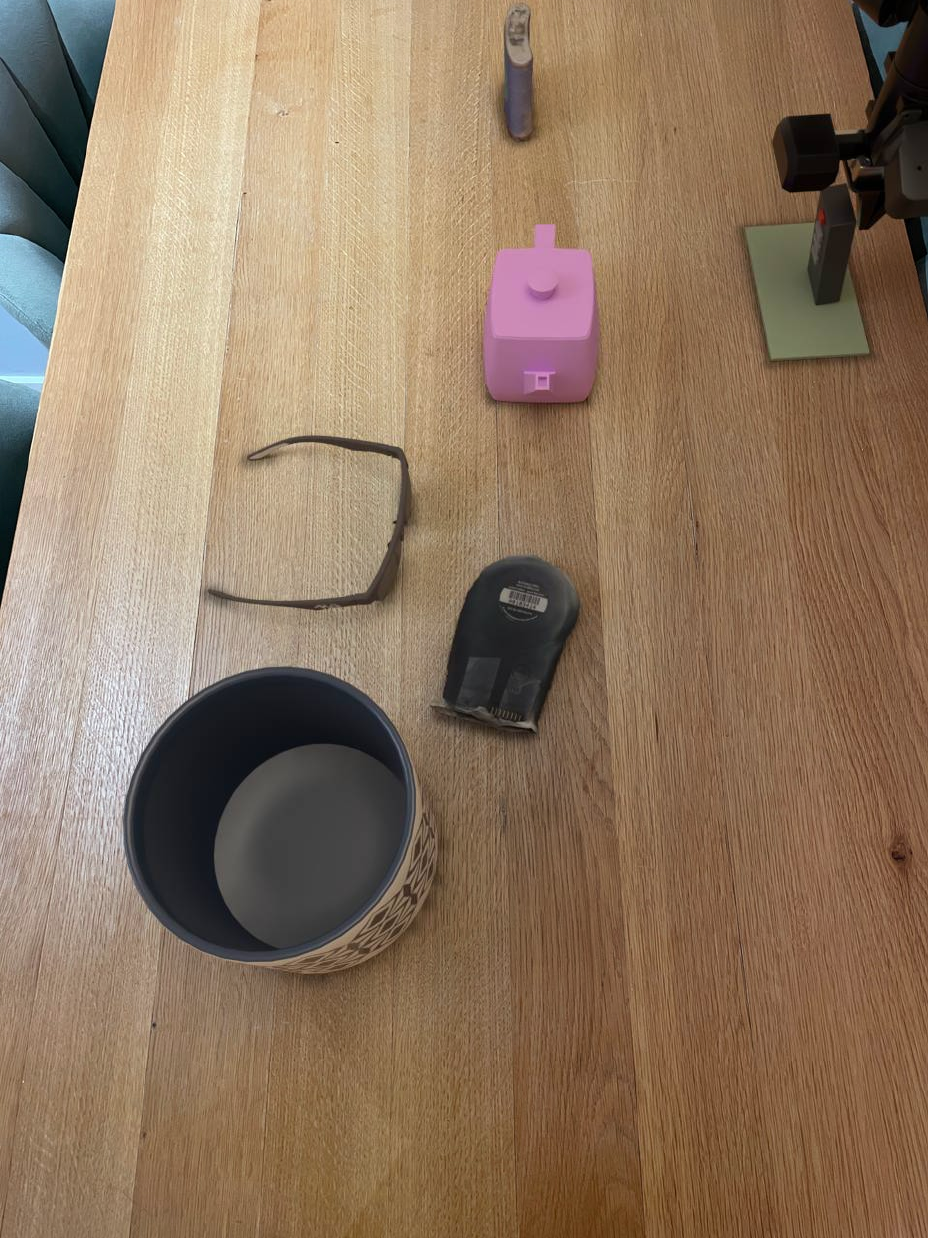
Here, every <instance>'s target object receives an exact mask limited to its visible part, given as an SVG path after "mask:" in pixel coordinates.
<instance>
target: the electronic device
mask: <svg viewBox="0 0 928 1238" xmlns="http://www.w3.org/2000/svg"><path fill="white" fill-rule="evenodd" d="M580 602H581V599H580V597H579V593H578V589H577V588H576V586H575V584H574V582H573V580H572V578H571V576H570V575H569V574H568V573H567V571H566V570H565V569H562V568H559V567H557V566H555V565H553V564H551V563H549V562H547V561H546V560H544V559H543V558H541V557H539V555H535V554H508V555H506V556H505V557H503V558H500V559H498V560H496V561H494V562H491V563H490V564H488V565H487V566H486V567H484V568H483V569H482V570H481V571H480V573H479V575H478V577H477V578H476V579H475V580H474V582H473V583H472V586H471V587H470V588H469V589H468V591H467V592H466V595H465V598H464V602H463V604H462V606H461V610H460V613H459V615H458V619H457V622H456V626H455V630H454V634H453V638H452V642H451V647H450V651H449V656H448V661H447V665H446V671H447V674H446V679H445V683H444V686H443V691H442V697H440V699H439V701H431V703H429V704H428V706H429V707H430V708H432V709H433V710H434V711H435V710H436V712H438V713H439V714H443V715H446V716H450V717H454V718H459V719H462V720H466V721H470V722H474V723H477V724H481V725H485V726H487V727H492V728H494V729H497V730H502V731H506V732H511V733H519V732H520V733H521V732H526V733H529V734H531V735H533V734H534V735H535V736H536V737H538V736H537V735H538V731H539V721H540V719H541V715H542V712H543V708H544V705H545V704H546V700H547V697H548V694H549V692H550V691H551V689H552V683H553V680H554V677H555V674H556V671H557V668H558V665H559V663H560V659H561V657H562V654H563V651H564V648H565V645H566V642H567V638H569V636H570V635H571V633H572V631H573V630H575V628H576V625H577V621H578V619H579V616H580V615H579V613H580V608H581V603H580Z"/></svg>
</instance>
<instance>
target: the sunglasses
mask: <svg viewBox="0 0 928 1238" xmlns="http://www.w3.org/2000/svg"><path fill="white" fill-rule="evenodd" d="M301 443H314V444H315V443H316V444H325V445H331V446H334V447H339V448H341V449H346V450H349V451H353V452H363V453H364V452H365V453H375V454H378V455H379V454H381V455H384V456H387V457H391V458H392V459H396V460H398V461H399V462H400V471H401V474H400V475H401V476H400V477H401V479H400V480H401V482H400V483H401V484H400V485H401V486H400V496H399V501H398V502H399V503H398V510H397V513H396V520H393V521H392V524H394V525H395V526H394V528H393V532H392V534H391V535H392V536H391V538H390V541H389V542H387V546H386V547H387V551H386V553H385V555H384V557H383V559H382V561H381V564H380V566H379V569H378V570H377V572H376V574H375V576H374V577H373V580H372V581H371V583H370V585H369V587H368V588H367V589H366V591H365V592H360V593H354V594H349V595H343V596H337V597H336V596H335V597H329V598H327V597H326V598H319V599H297V600H269V599H254V598H247V597H242V596H238V595H233V594H229V593H225V592H223V591H219V590H216V589H213V588H208V589H207V593H208V594H210V595H212V596H215V597H217V598H220V599H223V600H228V601H231V602H236V603H237V602H238V603H244V604H249V605H250V604H251V605H260V606H269V607H281V608H282V607H283V608H293V609H300V610H310V611H326V610H331V609H339V608H346V607H354V606H370V605H372V604H373V603H374V602H380V603H382V602H383V601H385V599H386V598H387V596H388V595H389V593H390V591H391V589H392V587H393V585H394V583H395V580H396V578H397V575H398V572H399V569H400V564H401V559H402V552H403V551H402V550H403V542H404V538H405V534H404V527H408V525H409V521H410V517H411V513H412V512H411V511H412V498H413V497H412V495H413V492H412V490H413V489H412V483H411V477H410V476H411V475H410V472H409V470H410V467H409V462H408V460H407V456H406V454H405V451H404V450H403V448H402V447H400V446H396V445H390V444H388V443H387V444H386V443H381V442H376V441H369V440H363V439H356V438H349V437H342V436H332V435H316V434H315V435H311V434H309V435H298V436H291V437H288V438H284V439H281V440H278V441H276V442H274V443H270V444H269V445H266V446H265V447H262V448H260V449H258V450H256V451H254V452H251V453H249V454H247V456H246V458H247V460H251V461H252V460H259V459H263V458H264V457H266V456H268V455H270V454H271V453H273V452H275V451H277V450H279V449H281V448H284V447H286V446H290V445H294V444H301Z"/></svg>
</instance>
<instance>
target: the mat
mask: <svg viewBox="0 0 928 1238" xmlns="http://www.w3.org/2000/svg"><path fill="white" fill-rule="evenodd" d="M814 225H815V222H802V223H800V222H799V223H786V224H775V225H774V224H772V225H756V226H745V228H744V233H745V238H746V239H745V240H746V245H747V250H748V254H749V260H750V265H751V269H752V270H751V271H752V275H753V280H754V285H755V290H756V296H757V301H758V307H759V310H760V315H761V321H762V324H763V325H762V327H763V331H764V336H765V341H766V346H767V352H768V357H769V361H770V362H779V361H780V362H782V361H797V360H799V361H800V360H813V359H830V358H831V359H832V358H846V357H847V358H848V357H861V356H862V357H863V356H869V355H870V347H869V343H868V340H867V336H866V332H865V328H864V324H863V320H862V316H861V311H860V308H859V302H858V299H857V295H856V291H855V288H854V283H853V279H852V275H851V271H850V267H849V264H848V265H847V269H846V274H845V279H844V283H843V288H842V292H841V297H840V301H839V302H833V303H827V304H822V305H815V301H814V296H813V292H812V288H811V283H810V279H809V274H808V270H807V268H808V262H809V256H810V249H811V243H812V237H813V231H814Z"/></svg>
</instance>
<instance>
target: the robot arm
mask: <svg viewBox="0 0 928 1238" xmlns="http://www.w3.org/2000/svg"><path fill="white" fill-rule="evenodd" d="M851 1H852V2H853V4H855V5H856V6H857V7H858V8H859V9H860V10H861V11H862V12H863V13H864V14H865V15H867V16H868V17H869V18H870V19H871V20H872V21H873V22H874V23H875V24H876V25H877V26H878V27H880V28H884V29H887V28H892V27H895V26H898V25H900V24H901V23H906V27H905V29H904V32H903V34H902V37H901V39H900V41H899V44H898V47H897V49H896V50H890V51H889V50H888V51H887V53H886V56H885V58H884V61H883V67H884V70H885V74H886V76H885V78H884V81H883V84H882V87H881V88H880V91H879V94H878V97H877V98H876V99H868V103H867V105H866V108H865V110H864V112H865V116H866V121H867V124H866V127H865V128H852V129H851V128H850V129H835V126H834V122H833V117H832V114H831V113H815V114H799V115H787V116H785V117H782V119H781V120H780V121H779V122H778V124H777V125H776V127H775V130H774V133H773V136H772V137H773V138H772V141H771V145H772V149H773V154H774V158H775V164H776V168H777V173H778V177H779V182H780V187H781V189H782V190H784V191H785V192H787V193H789V194H795V193H811V192H820V191H823V190H824V189H826V188H827V187H829V186H833V184H835V183H836V180H837V179H838V175H839V173H840V165H841V164H840V162H842V166H843V170H844V174H845V178H846V179H845V180H846V183H847V186H848V190H849V191H851V193H854V194H855V209H856V221H857V223H856V226H857V229H858V231H859V232H860V231H869V230H871V228H872V227H873V226H874V225H875V224H876V223H878V222H879V221H880V220H881V219H882V218H883V217H884V216H885V215H886V214H887V216H888V217H889V218H891V219H893V220H896V221H897V220H899V221H900V220H906V219H911V218H912V219H913V218H927V217H928V0H851Z"/></svg>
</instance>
